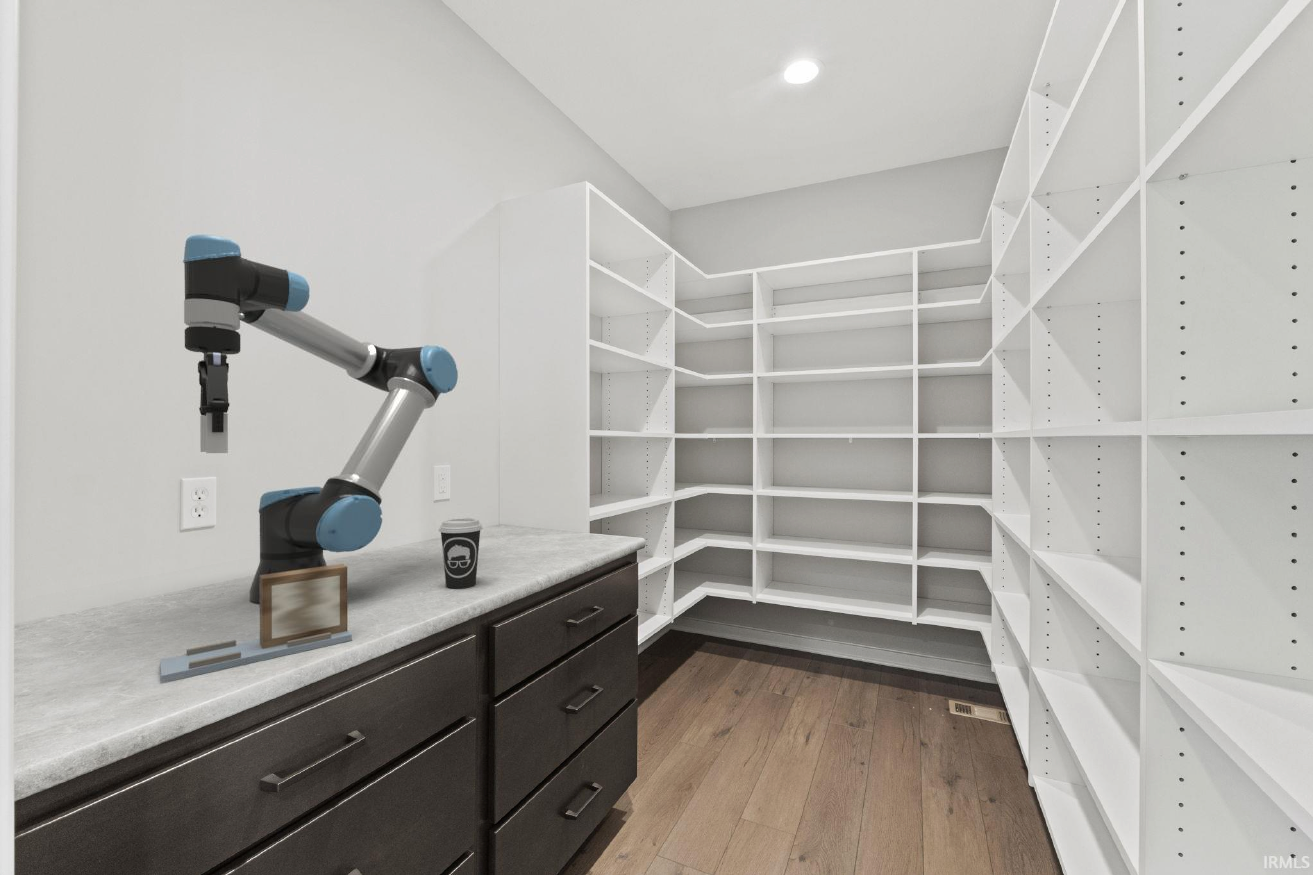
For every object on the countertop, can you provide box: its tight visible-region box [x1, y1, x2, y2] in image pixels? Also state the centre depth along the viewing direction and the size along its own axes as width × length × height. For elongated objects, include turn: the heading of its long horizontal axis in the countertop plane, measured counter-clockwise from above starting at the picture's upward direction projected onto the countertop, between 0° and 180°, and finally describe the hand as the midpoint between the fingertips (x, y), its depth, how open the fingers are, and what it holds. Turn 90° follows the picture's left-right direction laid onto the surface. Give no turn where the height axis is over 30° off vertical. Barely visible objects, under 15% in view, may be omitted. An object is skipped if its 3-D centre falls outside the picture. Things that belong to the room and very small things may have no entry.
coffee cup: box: [438, 517, 483, 590], centre depth 129 cm, size 10×10×15 cm
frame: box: [259, 563, 349, 649], centre depth 93 cm, size 12×3×11 cm, turn 132°
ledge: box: [159, 630, 353, 684], centre depth 89 cm, size 8×24×2 cm, turn 132°
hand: (213, 452), depth 96 cm, fingers open, 13 cm apart
